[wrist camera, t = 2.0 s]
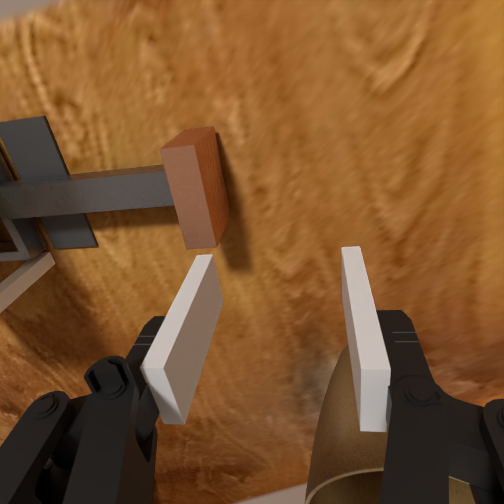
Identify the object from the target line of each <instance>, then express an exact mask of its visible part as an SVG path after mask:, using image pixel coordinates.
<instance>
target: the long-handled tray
mask: <svg viewBox="0 0 504 504" xmlns="http://www.w3.org/2000/svg"><path fill="white" fill-rule="evenodd" d="M160 153H161V157H162V160H163V164H164V165H156V166H147V167H138V168H128V169H119V170H109V171H100V172H91V173H81V174H72V175H63V176H53V177H44V178H34V179H25V180H16V181H15V180H14V178H13V176H12V174H11V172H10V170H9V168H8V166H7V164H6V162H5V160H4V158H3V156H2V154H1V152H0V217H1V219H2V221H3V223H4V225H5V227H6V228H7V230H8V232H9V234H10V236H11V238H12V240H13V241H9V242H0V261H16V260H32V259H33V258H35V257H36V256H37V255H38V254H40V253H41V252H42V251H43V250H45V249H46V248H47V245H46V243H45V241H44V239H43V237H42V235H41V233H40V231H39V229H38V227H37V225H36V223H35V221H34V219H33V217H41V216H53V215H65V214H77V213H89V212H101V211H113V210H125V209H137V208H149V207H161V206H173V205H175V209H176V212H177V216H178V220H179V224H180V227H181V231H182V235H183V238H184V242H185V246H186V249H201V248H217V246H218V243H219V241H220V239H221V236H222V234H223V232H224V229H225V227H226V225H227V222H228V220H229V218H230V216H231V215H230V209H229V204H228V199H227V193H226V188H225V183H224V177H223V172H222V167H221V161H220V156H219V151H218V145H217V140H216V135H215V129H214V126H212V127H204V128H196V129H188V130H184V131H183V132H181V133H180V134H179V135H177V136H176V137H175V138H173V139H172V140H171V141H169V142H168V143H167V144H166V145H164V146H163V147H162V148H160Z"/></svg>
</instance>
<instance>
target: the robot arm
mask: <svg viewBox="0 0 504 504" xmlns="http://www.w3.org/2000/svg"><path fill="white" fill-rule="evenodd" d="M341 254H342V299H343V307H344V314H345V322H346V329H347V337H348V344H349V351H350V359H351V366H352V374H353V381H354V389H355V396H356V404H357V411H358V418H359V426H360V431H370V432H386V428H387V427H388V438H387V446H386V453H385V461H384V469H383V477H382V484H381V492H380V500H379V504H449V476H450V477H453V478H456V479H459V480H461V481H464V482H467V483H469V485H470V488H471V492H472V495H473V498H474V501H475V504H504V399H495V400H492V401H490V402H489V403H487V404H486V405H485V407H482V406H478V405H475V404H471V403H467V402H464V401H461V400H458V399H455V398H453V397H452V396H450V395H448V394H446V393H445V392H444V391H443V390H442V389H441V388H440V386H438V385H437V384H436V383H435V381H434V380H433V378H432V375H431V372H430V370H429V367H428V364H427V362H426V359H425V356H424V353H423V351H422V348H421V345H420V343H419V340H418V337H417V334H416V333H415V329H414V326H413V324H412V321H411V319H410V318H409V317H408V316H407V315H406V314H405V313H404V312H403V311H402V310H377V311H376V309H375V305H374V301H373V297H372V293H371V289H370V285H369V281H368V277H367V273H366V269H365V265H364V261H363V257H362V253H361V249H360V246H356V247H341ZM223 302H224V301H223V296H222V292H221V288H220V283H219V279H218V275H217V270H216V266H215V261H214V257H213V254H211V255H197V256H196V258H195V260H194V262H193V264H192V266H191V268H190V270H189V272H188V274H187V276H186V278H185V280H184V282H183V284H182V286H181V288H180V290H179V292H178V294H177V296H176V298H175V300H174V302H173V304H172V306H171V308H170V310H169V312H168V313H167V315H166V316H154V317H153V318H152V319H151V320H150V321H149V322H148V323H147V324H146V325H145V326H144V327H143V329H142V331H141V333H140V334H139V337H138V338H137V340H136V341H135V343H134V344H135V345H133V347H132V349H131V350H130V352H129V354H128V356H127V357H126V359H124V358H123V357H120V356H109V357H106V358H103V359H101V360H99V361H97V362H96V363H94V364H93V365H92V366H91V367H90V368H89V369H88V370H87V371H86V373H85V375H84V378H85V380H86V382H87V384H88V386H89V388H90V389H91V391H92V394H89V395H85V396H81V397H78V398H74V399H70V398H69V397H68V395H67V394H66V393H65V392H63V391H53V392H49V393H47V394H45V395H43V396H41V397H40V398H38V399H37V400H35V401H34V402H33V403H32V404H31V405H30V406H29V407H28V409H27V410H26V411H25V413H24V414H23V415H22V417H21V418H20V420H19V421H18V423H17V424H16V425H15V427H14V428H13V430H12V431H11V432H10V434H9V435H8V437H7V438H6V440H5V441H4V442H3V444H2V445H1V447H0V504H152V497H153V485H154V473H155V461H156V449H157V437H158V434H157V429H156V426H155V423H156V420H157V418H158V415H159V414H160V416H161V419H162V421H163V423H164V424H184V425H185V422H186V419H187V416H188V413H189V409H190V406H191V403H192V400H193V397H194V394H195V390H196V387H197V384H198V381H199V378H200V375H201V372H202V368H203V365H204V362H205V359H206V356H207V353H208V350H209V346H210V343H211V340H212V337H213V334H214V331H215V327H216V324H217V321H218V318H219V315H220V312H221V309H222V305H223ZM48 459H49V461H48ZM47 461H48V463H47ZM46 463H47V464H46ZM44 466H45V467H44Z"/></svg>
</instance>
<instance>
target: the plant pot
mask: <svg viewBox="0 0 504 504" xmlns="http://www.w3.org/2000/svg"><path fill="white" fill-rule="evenodd" d="M387 438H388V427H387V428H386V432H370V431H360V426H359V418H358V411H357V404H356V396H355V389H354V381H353V374H352V366H351V359H350V351H349V346H347V347H346V348H345V349H344V350H343V352H342V353H341V355H340V357H339V360H338V362H337V364H336V367H335V369H334V372H333V374H332V377H331V380H330V383H329V386H328V389H327V392H326V395H325V398H324V402H323V405H322V409H321V413H320V417H319V421H318V426H317V430H316V435H315V440H314V445H313V451H312V457H311V463H310V470H309V476H308V483H307V490H306V498H305V504H379V500H380V492H381V484H382V477H383V469H384V461H385V453H386V446H387ZM449 504H475V501H474V498H473V495H472V492H471V488H470V485H469V483H467V482H464V481H461V480H459V479H456V478H453V477H450V476H449Z"/></svg>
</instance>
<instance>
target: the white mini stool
mask: <svg viewBox="0 0 504 504" xmlns="http://www.w3.org/2000/svg"><path fill="white" fill-rule="evenodd" d="M0 137H1V139H2V141H3V143H4V145H5V147H6V149H7V151H8V153H9V155H10V158H11V160H12V162H13V164H14V166H15V168H16V170H17V172H18V174H19V176H20V178H21V180H25V179H34V178H44V177H53V176H63V175H69V173H68V171H67V168H66V166H65V163H64V161H63V158H62V156H61V154H60V151H59V149H58V146H57V144H56V141H55V139H54V136H53V134H52V132H51V129H50V127H49V124H48V122H47V119H46V117H45V116H40V117H34V118H27V119H20V120H13V121H6V122H0ZM39 218H40V220H41V222H42V224H43V226H44V228H45V230H46V232H47V234H48V236H49V239H50V241H51V243H52V245H53V247H54V249H61V248H76V247H92V246H97V245H98V244H97V242H96V239H95V237H94V234H93V232H92V229H91V227H90V224H89V222H88V220H87V217H86V215H85V213H77V214H65V215H53V216H41V217H39ZM55 264H56V263H55V261H54V259H53V257H52V255H51V253H50V252H41V253H40V254H38V255H37V256H36V257H35V258H33V259H32V260H28V261H27V262H26V263H25V264H23V265H22V266H21V267H20V268H18V269H17V270H16V271H15V272H13V273H12V274H11V275H9V276H8V277H7V278H6V279H4V280H3V281H2V282H1V283H0V313H1V312H2V311H3V310H4V309H5V308H7V307H8V306H9V305H10V304H11V303H12V302H13V301H14V300H16V299H17V298H18V297H19V296H20V295H21V294H22V293H23V292H24V291H26V290H27V289H28V288H29V287H30V286H31V285H32V284H33V283H34V282H36V281H37V280H38V279H39V278H40V277H41V276H42V275H43V274H45V273H46V272H47V271H48V270H49V269H50V268H51V267H52V266H53V265H55Z"/></svg>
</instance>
